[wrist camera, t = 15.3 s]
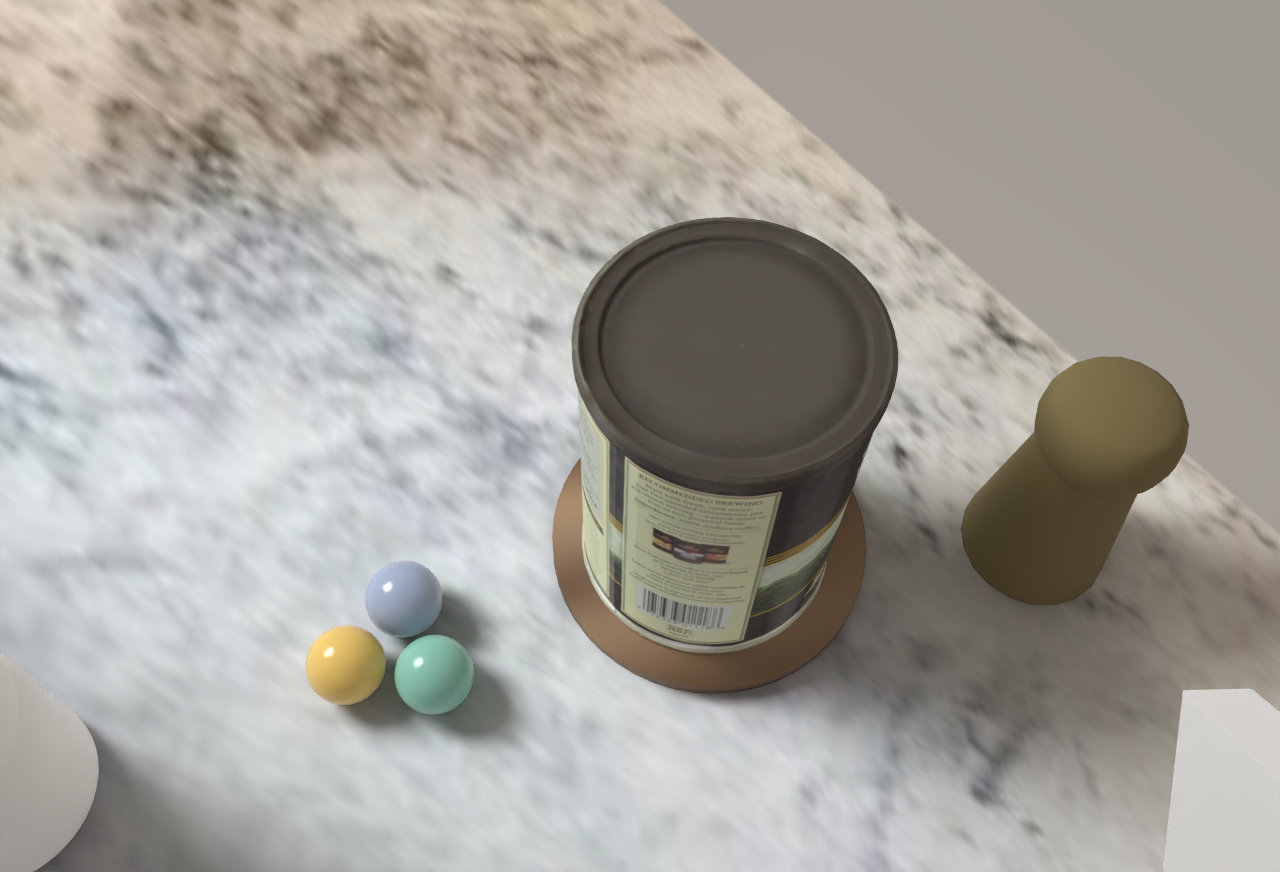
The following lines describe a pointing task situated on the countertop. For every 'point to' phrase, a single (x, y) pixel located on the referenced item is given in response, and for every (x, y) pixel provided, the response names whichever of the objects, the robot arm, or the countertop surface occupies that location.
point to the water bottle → (40, 772)
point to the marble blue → (403, 599)
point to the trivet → (708, 668)
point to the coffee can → (723, 425)
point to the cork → (1075, 479)
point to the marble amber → (345, 665)
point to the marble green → (434, 674)
